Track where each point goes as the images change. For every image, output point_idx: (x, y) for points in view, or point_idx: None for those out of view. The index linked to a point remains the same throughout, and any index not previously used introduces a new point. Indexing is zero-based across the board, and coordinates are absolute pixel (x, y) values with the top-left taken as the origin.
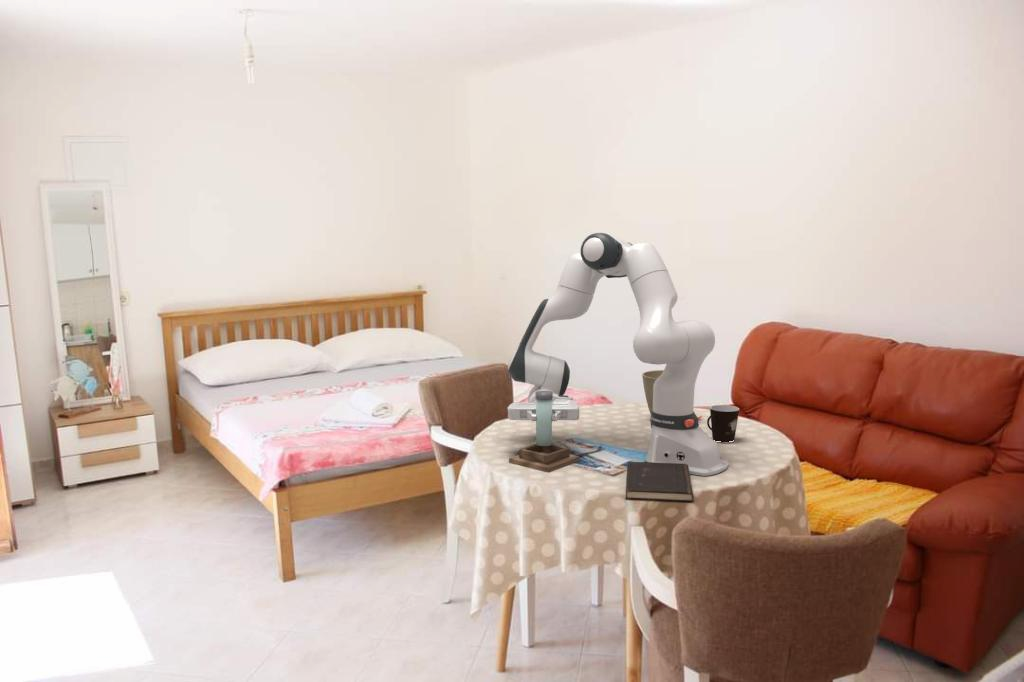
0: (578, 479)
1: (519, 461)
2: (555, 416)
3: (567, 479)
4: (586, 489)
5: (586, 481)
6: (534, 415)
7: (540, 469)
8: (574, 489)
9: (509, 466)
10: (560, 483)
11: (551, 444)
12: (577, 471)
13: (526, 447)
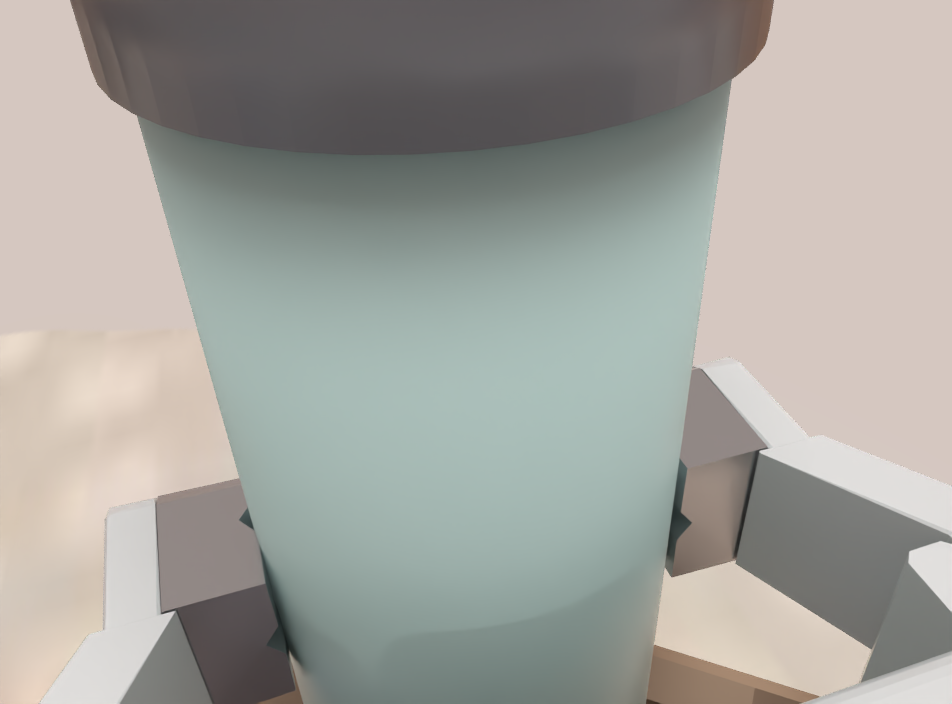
0: (64, 494)
1: (713, 667)
2: (158, 504)
3: (159, 472)
4: (31, 356)
5: (2, 473)
6: None
7: None
8: (115, 339)
9: (779, 624)
10: (212, 395)
11: None
12: (46, 684)
13: None
